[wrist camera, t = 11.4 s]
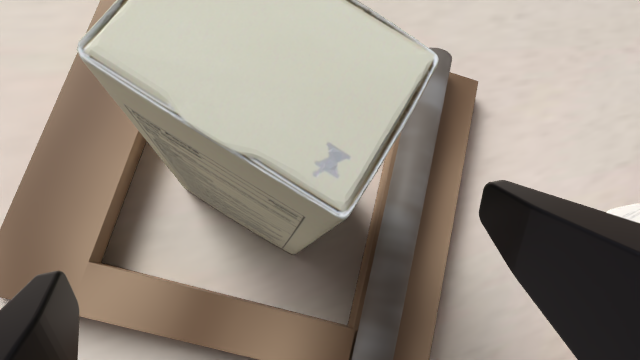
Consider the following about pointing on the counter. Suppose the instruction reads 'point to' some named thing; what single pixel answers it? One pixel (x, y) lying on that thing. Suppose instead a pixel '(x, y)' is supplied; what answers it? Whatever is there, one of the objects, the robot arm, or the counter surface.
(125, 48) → the skincare box
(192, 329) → the shelf frame
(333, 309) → the counter surface
